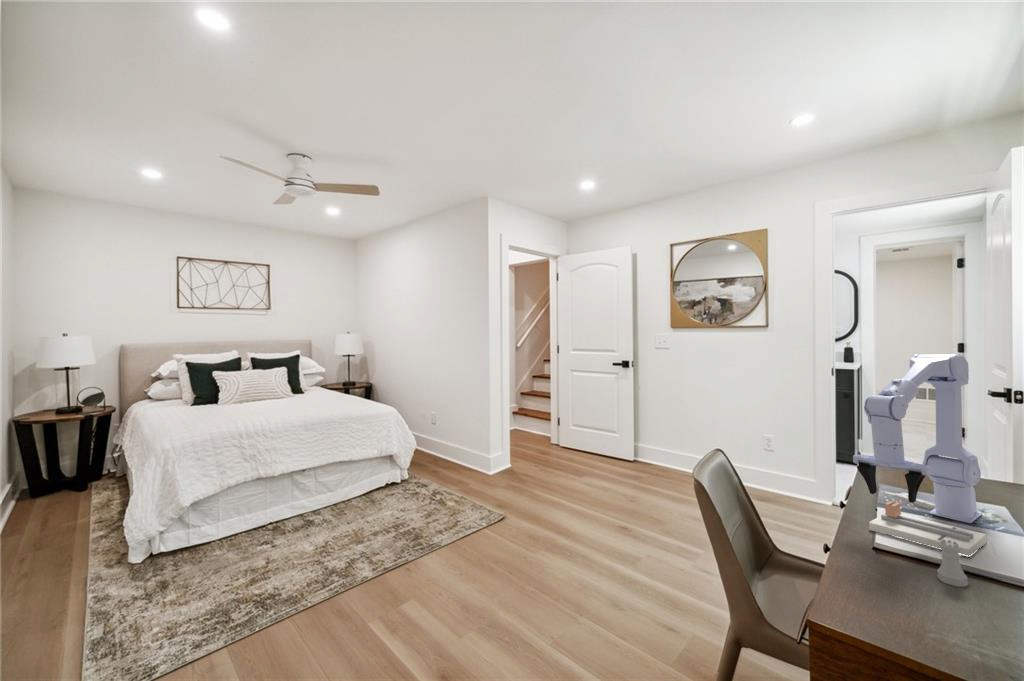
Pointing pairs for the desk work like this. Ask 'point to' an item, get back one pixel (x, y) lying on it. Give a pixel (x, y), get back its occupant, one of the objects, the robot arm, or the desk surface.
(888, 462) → the robot arm
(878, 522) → the white slider track board
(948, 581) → the rook chess piece
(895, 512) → the fader
